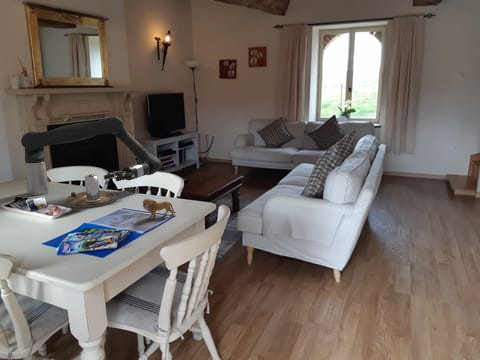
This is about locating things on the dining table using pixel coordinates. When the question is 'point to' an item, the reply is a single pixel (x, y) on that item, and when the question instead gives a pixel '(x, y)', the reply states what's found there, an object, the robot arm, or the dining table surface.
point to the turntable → (81, 198)
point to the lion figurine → (157, 207)
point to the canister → (92, 188)
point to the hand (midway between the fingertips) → (110, 178)
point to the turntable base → (91, 205)
